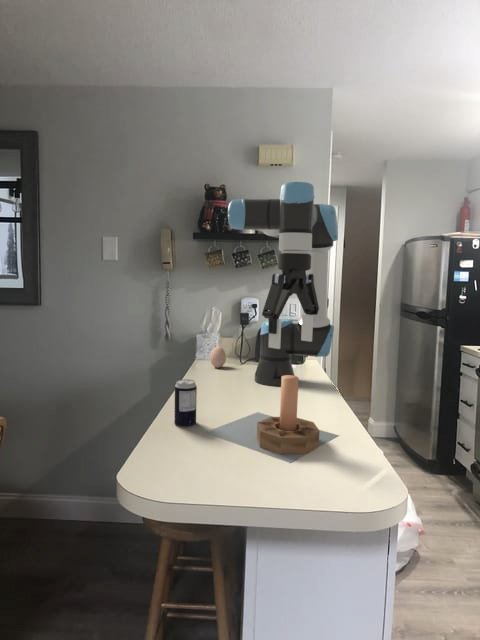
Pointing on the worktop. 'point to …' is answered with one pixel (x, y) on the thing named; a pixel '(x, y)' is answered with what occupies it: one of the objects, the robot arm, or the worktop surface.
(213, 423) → the worktop surface
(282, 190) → the robot arm
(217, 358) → the egg
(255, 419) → the mat
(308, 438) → the bead
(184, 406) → the beverage can
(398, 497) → the worktop surface
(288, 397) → the tan round-topped peg
